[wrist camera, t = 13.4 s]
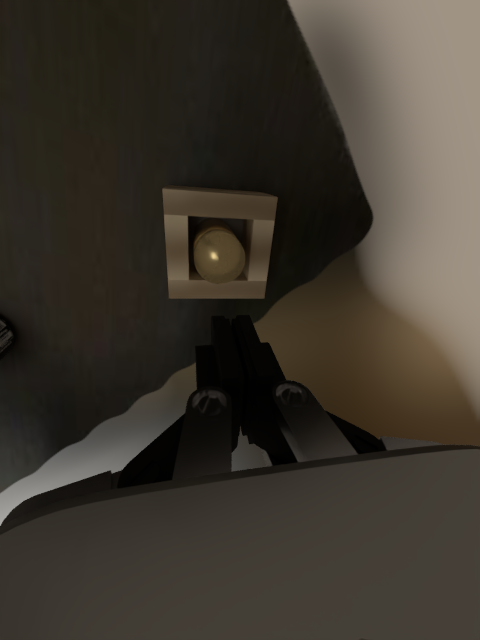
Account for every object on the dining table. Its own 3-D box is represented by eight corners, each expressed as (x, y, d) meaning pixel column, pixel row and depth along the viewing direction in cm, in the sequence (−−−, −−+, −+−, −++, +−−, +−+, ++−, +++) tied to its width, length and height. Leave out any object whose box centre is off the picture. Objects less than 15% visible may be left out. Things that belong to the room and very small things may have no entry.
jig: (167, 185, 27) (162, 188, 22) (261, 192, 29) (277, 197, 23) (172, 277, 32) (169, 298, 26) (252, 278, 33) (264, 298, 28)
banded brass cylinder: (191, 217, 28) (192, 234, 21) (232, 217, 28) (246, 233, 22) (194, 258, 30) (195, 285, 23) (232, 257, 31) (244, 282, 24)
